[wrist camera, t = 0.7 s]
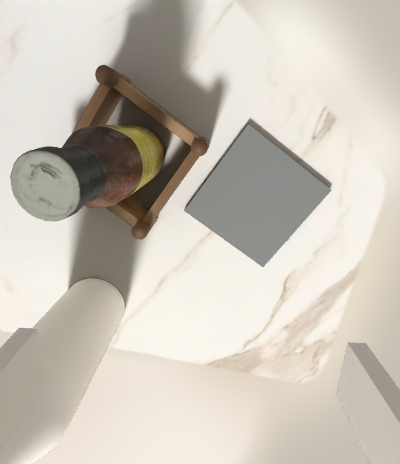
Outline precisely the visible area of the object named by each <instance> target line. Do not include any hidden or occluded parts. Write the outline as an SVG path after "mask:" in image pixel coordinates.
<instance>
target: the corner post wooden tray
mask: <svg viewBox="0 0 400 464" xmlns="http://www.w3.org/2000/svg"><path fill="white" fill-rule="evenodd" d="M95 75H96V79H97V81H98V82H99V83H100V85H99V87H98V88H97V90H96V92H95V94H94V95H93V97H92V99H91V101H90V103H89V104H88V106H87V108H86V110H85V111H84V113H83V115H82V117H81V119H80V120H79V122H78V124H77V126H76V127H75V129H74V131H73V133H74V132H75V131H77V130H79V129H81V128H84V127H88V126H98V125H100V126H101V125H106V123H107V121H108V120H109V118H110V116H111V115H112V113H113V111H114V110H115V108H116V106H117V104H118V103H119V101H120V99H121V98H122V96H123V95H124V96H125V97H127V98H128V99H129V100H131V101H132V102H133V103H135V104H136V105H137V106H139V107H140V108H141V109H143V110H144V111H145V112H146V113H148V114H149V115H150V116H152V117H153V118H154V119H156V120H157V121H158V122H160V123H161V124H162V125H164V126H165V127H166V128H168V129H169V130H170V131H172V132H173V133H174V134H175V135H177V136H178V137H179V138H181V139H182V140H183V141H185V142H186V143H187V144H189V145H190V146H191V151H190V153H189V154H188V156H187V157H186V158H185V160H184V161H183V163H182V164H181V166H180V167H179V168H178V170H177V171H176V173H175V174H174V176H173V177H172V178H171V180H170V181H169V183H168V184H167V186H166V187H165V188H164V190H163V191H162V193H161V194H160V196H159V197H158V198H157V200H156V201H155V203H154V204H153V206H152V207H151V208H150V210H147V209H146V208H144V207H143V206H141V205H140V204H139V203H137V202H136V201H134V200H133V199H132V198H130V197H127V198H125V199H123V200H122V201H120V202H118V203H116V204H114V205H111V206H107V207H106V208H107V209H108V210H110V211H111V212H113V213H114V214H116V215H117V216H119V217H120V218H122V219H123V220H124V221H126V222H127V223H129V224H130V225H132V226H133V228H132V235H133V236H134V237H135V238H136V239H144V238H145V237H146V236H147V234H148V233H149V231H150V230H151V228H152V227H153V225H154V224H155V222H156V221H157V218H158V217H157V215H158V214H159V212H160V211H161V210H162V208H163V207H164V205H165V204H166V202H167V201H168V200H169V198H170V197H171V195H172V194H173V193H174V191H175V190H176V188H177V187H178V186H179V184H180V183H181V181H182V180H183V179H184V177H185V176H186V174H187V173H188V172H189V170H190V169H191V167H192V166H193V165H194V163H195V162H196V160H197V159H198V158H199V156H202V155H204V154H205V153H206V152H207V150H208V148H209V142H208V140H207V139H206V138H203V137H201V138H200V137H199V136H197V135H196V134H195V133H193V132H192V131H191V130H190V129H188V128H187V127H186V126H184V125H183V124H182V123H180V122H179V121H178V120H176V119H175V118H174V117H173V116H171V115H170V114H169V113H167V112H166V111H165V110H163V109H162V108H161V107H160V106H158V105H157V104H156V103H154V102H153V101H152V100H150V99H149V98H148V97H146V96H145V95H144V94H143V93H141V92H140V91H139V90H137V89H136V88H135V87H133V86H132V85H131V83H130V81H129V79H128V78H126V77H125V76H123V75H121V74H120V73H118V72H116V71H115V70H113V69H111V68H110V67H108V66H106V65H101V66H99V67H98V68H97V70H96V73H95ZM73 133H72V134H73Z"/></svg>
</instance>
